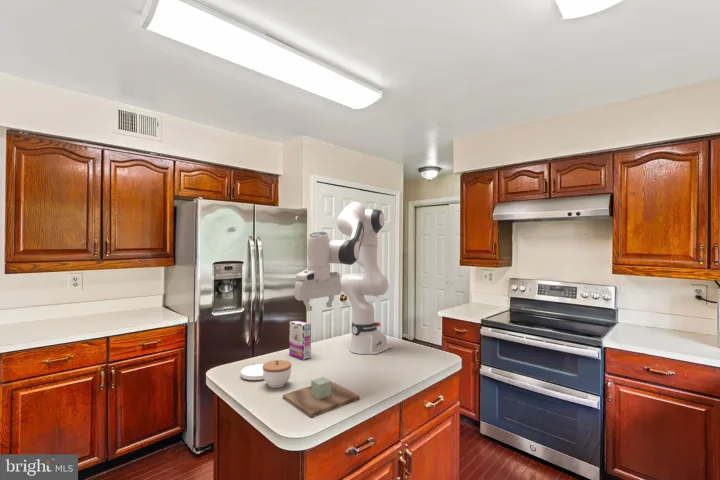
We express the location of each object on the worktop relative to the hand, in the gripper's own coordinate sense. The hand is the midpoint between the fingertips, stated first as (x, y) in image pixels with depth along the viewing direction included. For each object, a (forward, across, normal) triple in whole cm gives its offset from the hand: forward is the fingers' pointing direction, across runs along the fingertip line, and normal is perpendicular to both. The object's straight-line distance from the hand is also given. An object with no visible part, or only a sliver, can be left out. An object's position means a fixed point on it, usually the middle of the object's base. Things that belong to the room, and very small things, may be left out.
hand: (319, 308), depth 137 cm
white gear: (+29, +16, -22) cm, 40 cm away
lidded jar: (+29, +14, -8) cm, 33 cm away
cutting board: (+28, +9, +13) cm, 32 cm away
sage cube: (+27, +9, +13) cm, 31 cm away
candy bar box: (+30, -10, -31) cm, 44 cm away
